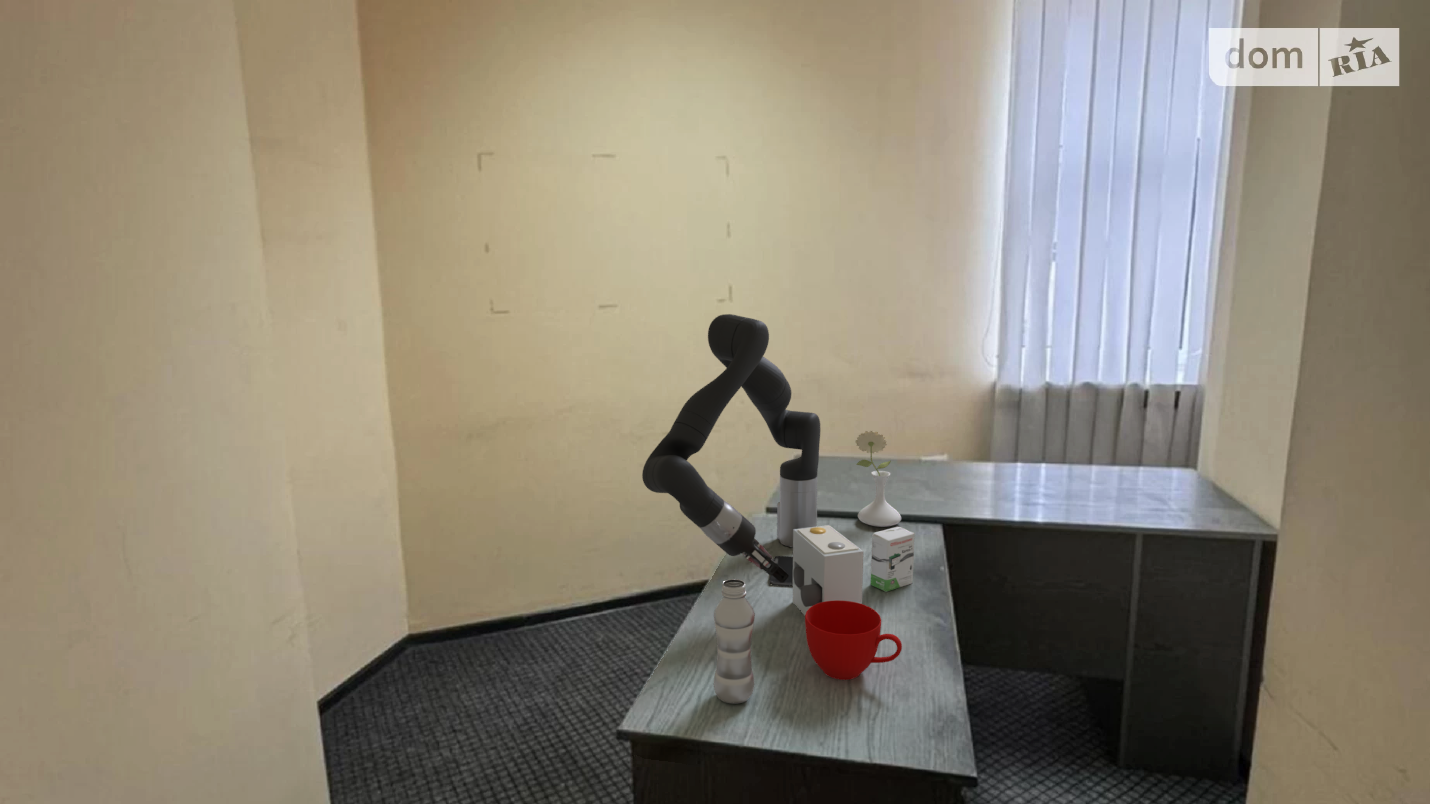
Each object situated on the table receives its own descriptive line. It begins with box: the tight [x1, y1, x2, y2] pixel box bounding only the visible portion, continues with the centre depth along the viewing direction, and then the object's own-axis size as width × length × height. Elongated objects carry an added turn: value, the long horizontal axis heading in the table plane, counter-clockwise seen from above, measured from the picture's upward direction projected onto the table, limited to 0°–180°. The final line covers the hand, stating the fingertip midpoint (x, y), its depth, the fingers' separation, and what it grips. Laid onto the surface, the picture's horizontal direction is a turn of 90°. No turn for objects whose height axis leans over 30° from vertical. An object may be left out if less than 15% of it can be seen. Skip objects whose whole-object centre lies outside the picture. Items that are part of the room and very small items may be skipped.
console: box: [792, 524, 864, 616], centre depth 153 cm, size 8×15×16 cm, turn 17°
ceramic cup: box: [804, 600, 903, 681], centre depth 133 cm, size 13×17×10 cm
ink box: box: [870, 526, 916, 593], centre depth 168 cm, size 9×5×12 cm, turn 123°
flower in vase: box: [855, 430, 902, 528], centre depth 205 cm, size 13×11×25 cm
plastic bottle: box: [713, 578, 756, 705], centre depth 125 cm, size 6×7×20 cm
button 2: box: [801, 583, 822, 607], centre depth 148 cm, size 4×4×4 cm
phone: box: [768, 555, 793, 587], centre depth 176 cm, size 8×1×15 cm
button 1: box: [793, 567, 804, 587], centre depth 157 cm, size 4×4×4 cm
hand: (784, 578), depth 155 cm, fingers closed
